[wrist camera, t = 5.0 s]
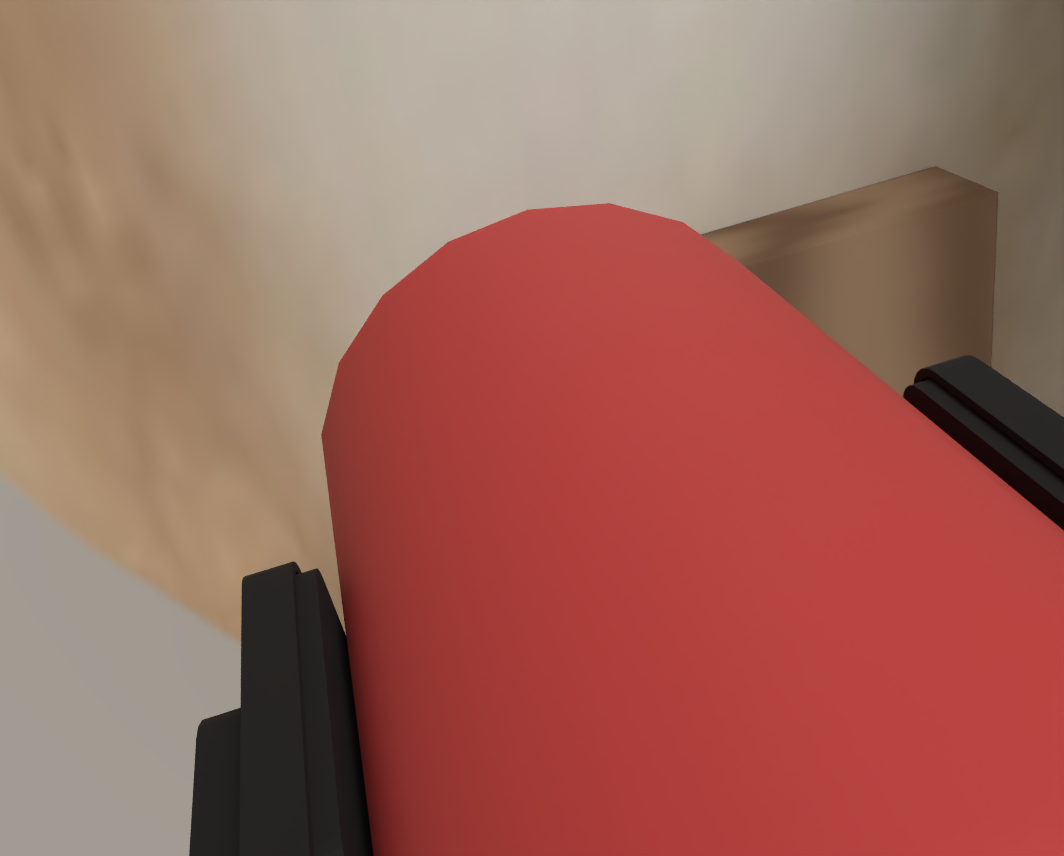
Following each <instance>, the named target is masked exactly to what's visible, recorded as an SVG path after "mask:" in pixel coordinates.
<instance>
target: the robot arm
mask: <svg viewBox="0 0 1064 856" xmlns="http://www.w3.org/2000/svg"><path fill="white" fill-rule="evenodd" d="M903 398H904V399H905V400H907V401H908V402H909V403H910V404H911V405H913V406H914V407H915V408H916V409H918V410H919V411H920V412H921V413H922V414H924V415H925V416H926V417H927V418H928V419H930V420H931V421H932V422H933V423H934V424H936V425H937V426H938V427H939V428H940V429H942V430H943V431H944V432H945V433H946V434H948V435H949V436H950V437H951V438H953V439H954V440H955V441H956V442H957V443H959V444H960V445H961V446H962V447H963V448H965V449H966V450H967V451H968V452H969V453H971V454H972V455H973V456H974V457H975V458H977V459H978V460H979V461H980V462H981V463H983V464H984V465H985V466H986V467H988V468H989V469H990V470H991V471H992V472H994V473H995V474H996V475H997V476H998V477H1000V478H1001V479H1002V480H1003V481H1004V482H1006V483H1007V484H1008V485H1009V486H1010V487H1012V488H1013V489H1014V490H1015V491H1017V492H1018V493H1019V494H1020V495H1021V496H1023V497H1024V498H1025V499H1026V500H1027V501H1029V502H1030V503H1031V504H1032V505H1033V506H1035V507H1036V508H1037V509H1038V510H1039V511H1041V512H1042V513H1043V514H1044V515H1045V516H1047V517H1048V518H1049V519H1050V520H1052V521H1053V522H1054V523H1055V524H1056V525H1058V526H1059V527H1060V528H1061V529H1062V530H1064V417H1062V416H1061V415H1059V414H1058V413H1056V412H1055V411H1053V410H1052V409H1051V408H1049V407H1048V406H1046V405H1045V404H1043V403H1042V402H1040V401H1039V400H1037V399H1036V398H1035V397H1033V396H1032V395H1030V394H1029V393H1027V392H1026V391H1024V390H1023V389H1021V388H1020V387H1019V386H1017V385H1016V384H1014V383H1013V382H1011V381H1010V380H1008V379H1007V378H1005V377H1004V376H1003V375H1001V374H1000V373H998V372H997V371H995V370H994V369H992V368H991V367H989V366H988V365H987V364H985V363H984V362H982V361H981V360H979V359H978V358H976V357H974V356H971V355H964V356H961V357H958V358H954V359H951V360H948V361H944V362H941V363H938V364H935V365H931V366H928V367H925V368H922V369H920V370H919V371H918V372H917V373H916V376H915V378H914V384H913V385H909V386H908V387H906V388H905V391H904V393H903ZM189 856H374V855H373V847H372V839H371V831H370V823H369V815H368V807H367V799H366V790H365V782H364V774H363V766H362V758H361V750H360V742H359V734H358V726H357V718H356V710H355V702H354V694H353V686H352V678H351V669H350V661H349V653H348V645H347V637H346V635H345V632H344V630H343V627H342V625H341V622H340V620H339V617H338V615H337V612H336V610H335V607H334V605H333V602H332V600H331V597H330V595H329V592H328V590H327V587H326V585H325V582H324V579H323V577H322V575H321V573H320V571H319V570H318V569H314V570H310V571H307V572H304V573H301V571H300V568H299V567H298V565H297V564H296V563H295V562H290V563H287V564H284V565H281V566H277V567H274V568H271V569H268V570H264V571H261V572H258V573H255V574H251V575H248V576H245V577H244V578H243V580H242V627H241V708H239V709H235V710H232V711H229V712H226V713H223V714H220V715H217V716H214V717H211V718H207V719H204V720H202V721H201V723H200V725H199V727H198V732H197V738H196V753H195V771H194V787H193V803H192V820H191V837H190V854H189Z"/></svg>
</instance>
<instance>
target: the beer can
mask: <svg viewBox="0 0 1064 856" xmlns="http://www.w3.org/2000/svg"><path fill="white" fill-rule="evenodd" d="M321 435H322V443H323V452H324V460H325V468H326V476H327V484H328V492H329V500H330V508H331V516H332V524H333V532H334V541H335V549H336V557H337V565H338V573H339V581H340V589H341V597H342V605H343V613H344V621H345V629H346V637H347V645H348V653H349V661H350V669H351V678H352V686H353V694H354V702H355V710H356V718H357V726H358V734H359V742H360V750H361V758H362V766H363V774H364V782H365V790H366V799H367V807H368V815H369V823H370V831H371V839H372V847H373V855H374V856H1064V530H1062V529H1061V528H1060V527H1059V526H1058V525H1056V524H1055V523H1054V522H1053V521H1052V520H1050V519H1049V518H1048V517H1047V516H1045V515H1044V514H1043V513H1042V512H1041V511H1039V510H1038V509H1037V508H1036V507H1035V506H1033V505H1032V504H1031V503H1030V502H1029V501H1027V500H1026V499H1025V498H1024V497H1023V496H1021V495H1020V494H1019V493H1018V492H1017V491H1015V490H1014V489H1013V488H1012V487H1010V486H1009V485H1008V484H1007V483H1006V482H1004V481H1003V480H1002V479H1001V478H1000V477H998V476H997V475H996V474H995V473H994V472H992V471H991V470H990V469H989V468H988V467H986V466H985V465H984V464H983V463H981V462H980V461H979V460H978V459H977V458H975V457H974V456H973V455H972V454H971V453H969V452H968V451H967V450H966V449H965V448H963V447H962V446H961V445H960V444H959V443H957V442H956V441H955V440H954V439H953V438H951V437H950V436H949V435H948V434H946V433H945V432H944V431H943V430H942V429H940V428H939V427H938V426H937V425H936V424H934V423H933V422H932V421H931V420H930V419H928V418H927V417H926V416H925V415H924V414H922V413H921V412H920V411H919V410H918V409H916V408H915V407H914V406H913V405H911V404H910V403H909V402H908V401H907V400H905V399H904V398H903V397H902V396H901V395H899V394H898V393H897V392H896V391H895V390H893V389H892V388H891V387H890V386H889V385H887V384H886V383H885V382H884V381H882V380H881V379H880V378H879V377H878V376H876V375H875V374H874V373H873V372H872V371H870V370H869V369H868V368H867V367H866V366H864V365H863V364H862V363H861V362H860V361H858V360H857V359H856V358H855V357H854V356H852V355H851V354H850V353H849V352H847V351H846V350H845V349H844V348H843V347H841V346H840V345H839V344H838V343H837V342H835V341H834V340H833V339H832V338H831V337H829V336H828V335H827V334H826V333H825V332H823V331H822V330H821V329H820V328H818V327H817V326H816V325H815V324H814V323H812V322H811V321H810V320H809V319H808V318H806V317H805V316H804V315H803V314H802V313H800V312H799V311H798V310H797V309H796V308H794V307H793V306H792V305H791V304H790V303H788V302H787V301H786V300H785V299H783V298H782V297H781V296H780V295H779V294H777V293H776V292H775V291H774V290H773V289H771V288H770V287H769V286H768V285H767V284H765V283H764V282H763V281H762V280H761V279H759V278H758V277H757V276H756V275H755V274H753V273H752V272H751V271H750V270H748V269H747V268H746V267H745V266H744V265H742V264H741V263H740V262H739V261H737V260H736V259H734V258H733V257H732V256H730V255H729V254H727V253H726V252H724V251H723V250H722V249H720V248H719V247H717V246H716V245H714V244H713V243H712V242H710V241H709V240H707V239H706V238H704V237H703V236H702V235H700V234H699V233H697V232H696V231H694V230H693V229H692V228H690V227H689V226H687V225H686V224H684V223H683V222H680V221H676V220H672V219H668V218H664V217H660V216H656V215H652V214H648V213H644V212H641V211H637V210H633V209H629V208H625V207H621V206H617V205H613V204H609V203H608V204H596V205H583V206H570V207H558V208H545V209H532V210H526V211H523V212H521V213H518V214H516V215H514V216H511V217H509V218H506V219H504V220H501V221H499V222H496V223H494V224H491V225H489V226H486V227H484V228H482V229H479V230H477V231H474V232H472V233H469V234H467V235H464V236H462V237H459V238H457V239H454V240H452V241H450V242H448V243H446V244H445V245H444V246H443V247H442V248H440V249H439V250H438V251H437V252H435V253H434V254H433V255H432V256H431V257H429V258H428V259H427V260H426V261H424V262H423V263H422V264H421V265H420V266H418V267H417V268H416V269H415V270H413V271H412V272H411V273H410V274H409V275H407V276H406V277H405V278H404V279H402V280H401V281H400V282H399V283H397V284H396V285H395V286H394V287H393V288H391V289H390V290H389V291H388V292H386V293H385V294H384V295H383V296H382V297H381V299H380V300H379V302H378V304H377V305H376V307H375V308H374V310H373V311H372V313H371V314H370V316H369V317H368V319H367V321H366V322H365V324H364V325H363V327H362V328H361V330H360V331H359V333H358V334H357V336H356V337H355V339H354V341H353V342H352V344H351V345H350V347H349V348H348V350H347V351H346V353H345V354H344V356H343V358H342V359H341V361H340V362H339V365H338V369H337V373H336V377H335V381H334V385H333V389H332V393H331V398H330V402H329V406H328V410H327V414H326V418H325V422H324V426H323V430H322V434H321Z"/></svg>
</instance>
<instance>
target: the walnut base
mask: <svg viewBox="0 0 1064 856" xmlns="http://www.w3.org/2000/svg"><path fill="white" fill-rule="evenodd" d="M997 206H998V192H996V191H993V190H991V189H989V188H986V187H984V186H981V185H979V184H977V183H974V182H972V181H969V180H967V179H965V178H962V177H960V176H957V175H955V174H953V173H950V172H948V171H945V170H943V169H941V168H938V167H932V168H929V169H926V170H922V171H919V172H915V173H912V174H908V175H905V176H901V177H898V178H895V179H891V180H888V181H884V182H881V183H877V184H874V185H871V186H867V187H864V188H860V189H857V190H853V191H850V192H846V193H843V194H840V195H836V196H833V197H829V198H826V199H822V200H819V201H815V202H812V203H809V204H805V205H802V206H798V207H795V208H791V209H788V210H784V211H781V212H778V213H774V214H771V215H767V216H764V217H760V218H757V219H753V220H750V221H747V222H743V223H740V224H736V225H733V226H729V227H726V228H723V229H719V230H716V231H712V232H709V233H705V234H702V236H703V237H704V238H706V239H707V240H709V241H710V242H712V243H713V244H714V245H716V246H717V247H719V248H720V249H722V250H723V251H724V252H726V253H727V254H729V255H730V256H732V257H733V258H734V259H736V260H737V261H739V262H740V263H741V264H742V265H744V266H745V267H746V268H747V269H748V270H750V271H751V272H752V273H753V274H755V275H756V276H757V277H758V278H759V279H761V280H762V281H763V282H764V283H765V284H767V285H768V286H769V287H770V288H771V289H773V290H774V291H775V292H776V293H777V294H779V295H780V296H781V297H782V298H783V299H785V300H786V301H787V302H788V303H790V304H791V305H792V306H793V307H794V308H796V309H797V310H798V311H799V312H800V313H802V314H803V315H804V316H805V317H806V318H808V319H809V320H810V321H811V322H812V323H814V324H815V325H816V326H817V327H818V328H820V329H821V330H822V331H823V332H825V333H826V334H827V335H828V336H829V337H831V338H832V339H833V340H834V341H835V342H837V343H838V344H839V345H840V346H841V347H843V348H844V349H845V350H846V351H847V352H849V353H850V354H851V355H852V356H854V357H855V358H856V359H857V360H858V361H860V362H861V363H862V364H863V365H864V366H866V367H867V368H868V369H869V370H870V371H872V372H873V373H874V374H875V375H876V376H878V377H879V378H880V379H881V380H882V381H884V382H885V383H886V384H887V385H889V386H890V387H891V388H892V389H893V390H895V391H896V392H897V393H898V394H899V395H901V396H902V397H903V393H904V391H905V388H906V387H908V386H909V385H913V384H914V378H915V376H916V373H917V372H918V371H919V370H920V369H922V368H925V367H928V366H931V365H935V364H938V363H941V362H944V361H948V360H951V359H954V358H958V357H961V356H964V355H971V356H974V357H976V358H978V359H979V360H981V361H982V362H984V363H985V364H987V365H988V366H989V367H991V357H992V332H993V307H994V282H995V257H996V231H997Z"/></svg>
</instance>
